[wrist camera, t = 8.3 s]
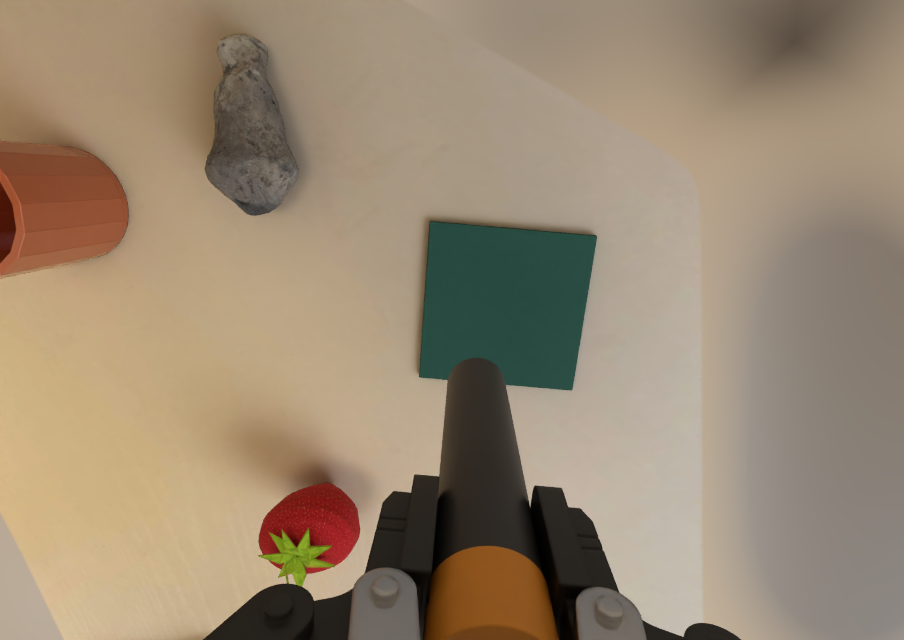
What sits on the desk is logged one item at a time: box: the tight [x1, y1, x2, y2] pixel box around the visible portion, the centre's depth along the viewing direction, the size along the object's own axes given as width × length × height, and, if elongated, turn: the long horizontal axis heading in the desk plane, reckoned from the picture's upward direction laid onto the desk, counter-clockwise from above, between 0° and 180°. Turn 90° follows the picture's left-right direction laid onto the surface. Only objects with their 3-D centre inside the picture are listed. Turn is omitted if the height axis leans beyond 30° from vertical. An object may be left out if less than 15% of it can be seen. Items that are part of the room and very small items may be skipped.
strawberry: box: [259, 483, 360, 587], centre depth 37 cm, size 6×8×10 cm
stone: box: [205, 34, 299, 216], centre depth 32 cm, size 10×6×8 cm
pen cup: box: [0, 141, 128, 279], centre depth 32 cm, size 8×8×9 cm
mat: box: [419, 221, 597, 390], centre depth 37 cm, size 12×12×1 cm
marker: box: [422, 358, 559, 640], centre depth 16 cm, size 3×3×14 cm
